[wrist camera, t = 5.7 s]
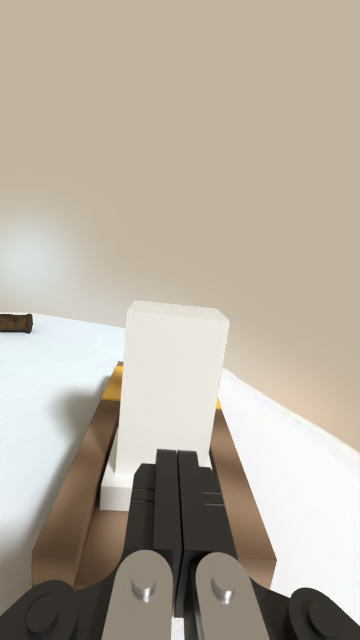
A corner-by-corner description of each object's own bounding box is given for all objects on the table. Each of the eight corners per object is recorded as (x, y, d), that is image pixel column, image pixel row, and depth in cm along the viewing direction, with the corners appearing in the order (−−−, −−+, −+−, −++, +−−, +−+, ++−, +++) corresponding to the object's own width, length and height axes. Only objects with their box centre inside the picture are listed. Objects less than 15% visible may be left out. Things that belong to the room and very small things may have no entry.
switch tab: (213, 514, 18) (246, 326, 15) (99, 509, 17) (111, 313, 14) (201, 451, 24) (223, 307, 21) (116, 445, 23) (127, 297, 20)
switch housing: (262, 617, 14) (277, 557, 14) (32, 613, 14) (31, 548, 13) (202, 395, 38) (206, 367, 37) (116, 388, 37) (118, 359, 36)
